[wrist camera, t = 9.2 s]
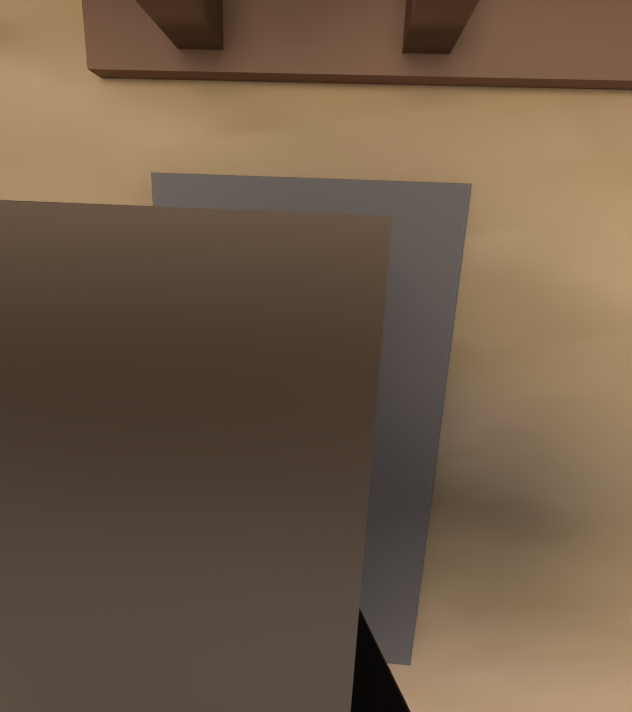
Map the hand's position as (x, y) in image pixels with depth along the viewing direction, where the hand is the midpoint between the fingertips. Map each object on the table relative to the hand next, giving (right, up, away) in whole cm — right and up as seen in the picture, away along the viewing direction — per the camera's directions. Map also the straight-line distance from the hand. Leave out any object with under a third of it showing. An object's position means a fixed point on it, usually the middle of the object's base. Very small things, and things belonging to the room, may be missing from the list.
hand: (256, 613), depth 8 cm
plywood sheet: (0, +1, +2) cm, 2 cm away
